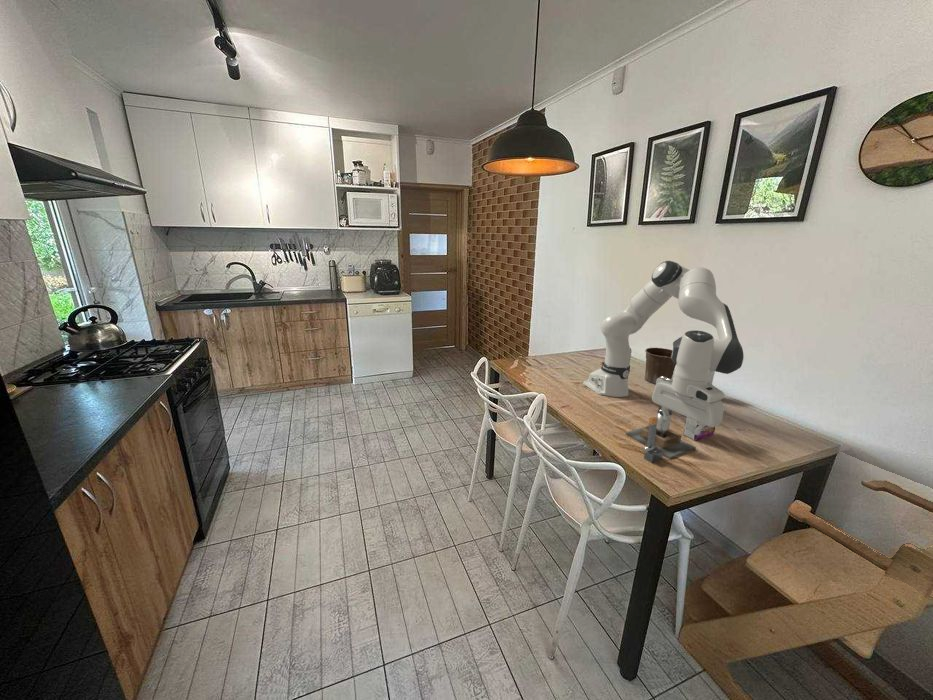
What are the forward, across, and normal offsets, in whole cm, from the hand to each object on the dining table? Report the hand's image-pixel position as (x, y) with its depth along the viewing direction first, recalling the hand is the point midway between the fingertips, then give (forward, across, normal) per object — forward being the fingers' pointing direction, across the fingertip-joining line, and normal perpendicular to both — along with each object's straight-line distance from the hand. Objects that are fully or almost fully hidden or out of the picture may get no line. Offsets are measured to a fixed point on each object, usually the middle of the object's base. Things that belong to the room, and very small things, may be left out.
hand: (680, 426), depth 113 cm
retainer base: (+15, -7, 0) cm, 17 cm away
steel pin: (+15, -13, +12) cm, 23 cm away
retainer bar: (+11, -8, 0) cm, 14 cm away
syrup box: (+15, -33, +68) cm, 77 cm away
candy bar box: (+16, -10, +30) cm, 35 cm away
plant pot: (+15, -54, +66) cm, 86 cm away
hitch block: (+15, -13, +12) cm, 24 cm away
